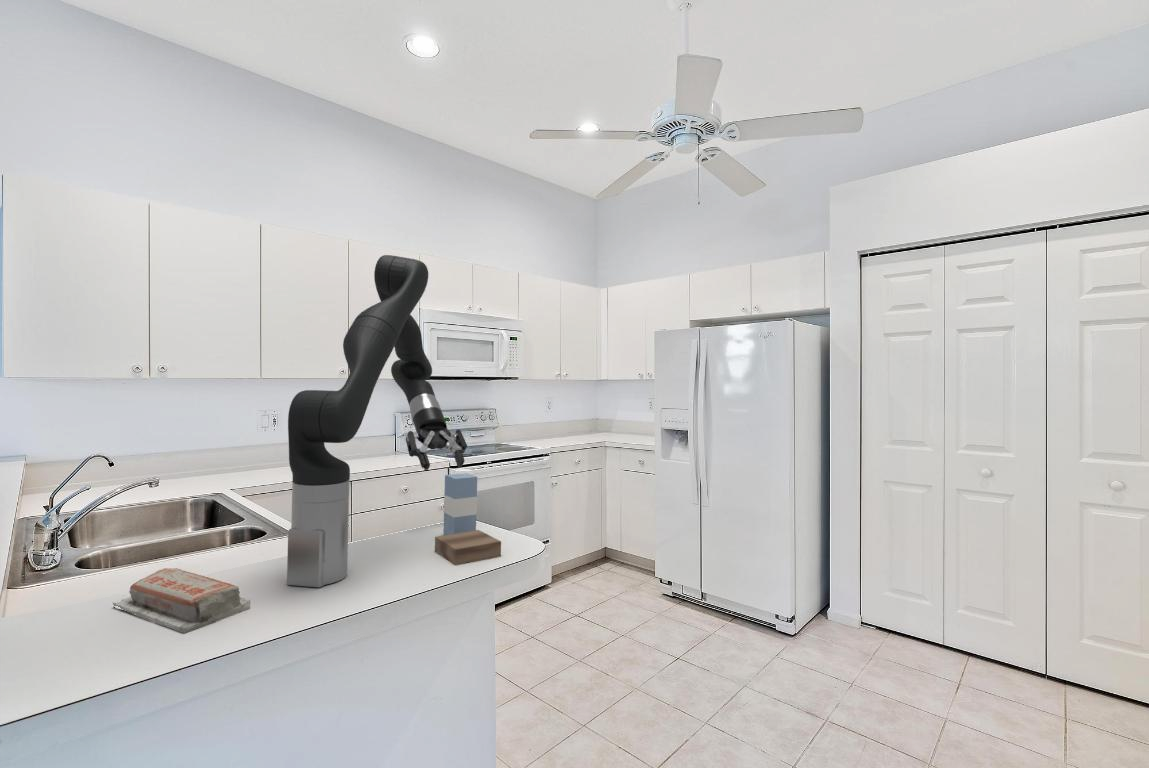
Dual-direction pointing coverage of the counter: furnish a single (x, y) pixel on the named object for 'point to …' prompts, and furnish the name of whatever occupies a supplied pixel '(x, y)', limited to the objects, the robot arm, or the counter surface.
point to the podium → (467, 546)
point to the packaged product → (183, 599)
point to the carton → (460, 503)
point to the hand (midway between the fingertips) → (444, 466)
